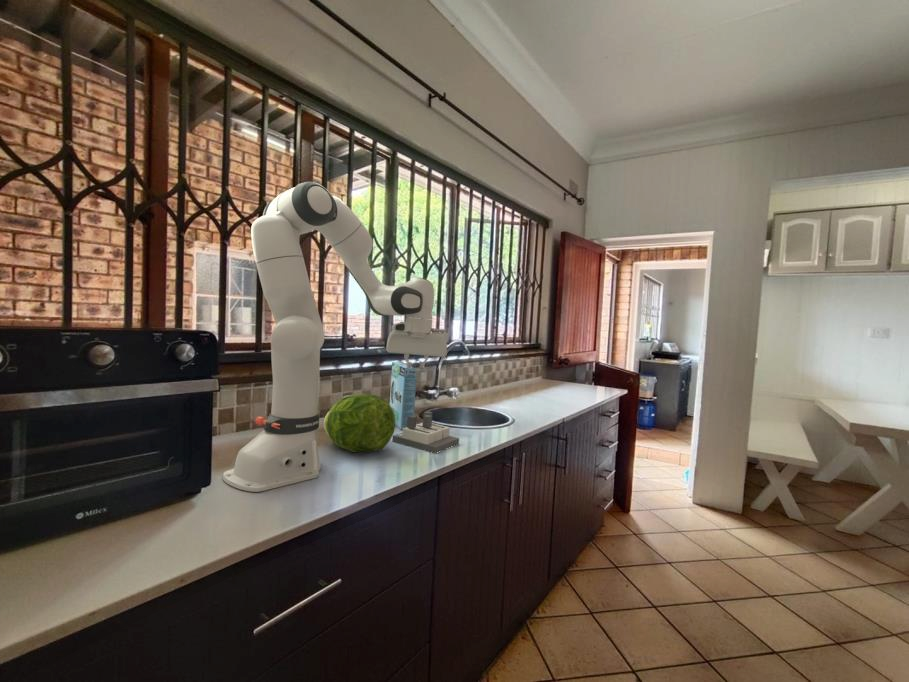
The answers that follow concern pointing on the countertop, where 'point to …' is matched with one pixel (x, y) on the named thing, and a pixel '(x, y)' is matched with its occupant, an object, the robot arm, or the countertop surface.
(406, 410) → the gum box
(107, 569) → the countertop surface
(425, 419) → the block
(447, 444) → the breaker panel
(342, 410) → the lettuce
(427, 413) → the breaker
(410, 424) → the breaker
